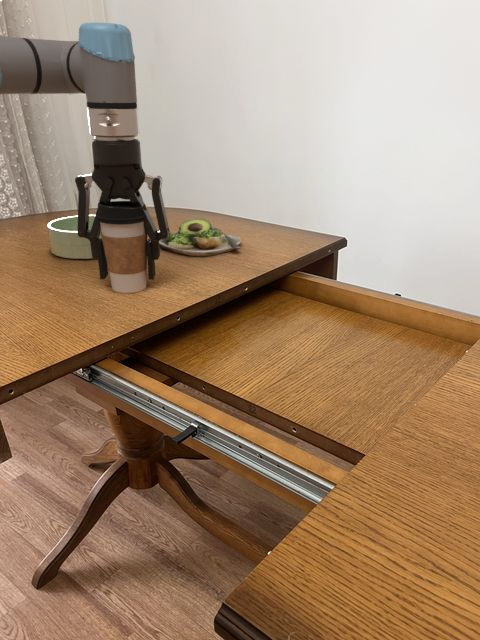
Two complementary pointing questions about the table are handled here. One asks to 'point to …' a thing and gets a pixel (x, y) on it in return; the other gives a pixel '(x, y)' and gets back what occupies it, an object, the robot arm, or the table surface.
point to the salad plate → (199, 239)
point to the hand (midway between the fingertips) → (128, 276)
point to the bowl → (69, 238)
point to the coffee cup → (124, 245)
